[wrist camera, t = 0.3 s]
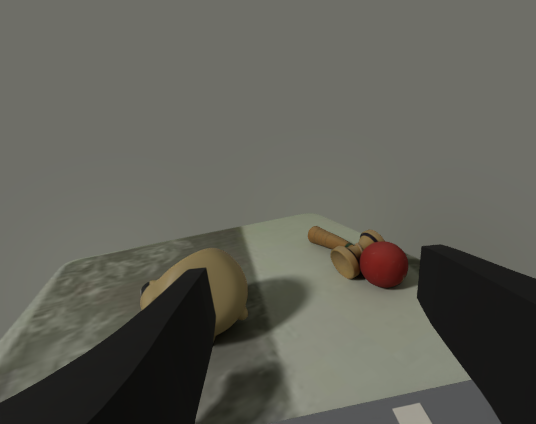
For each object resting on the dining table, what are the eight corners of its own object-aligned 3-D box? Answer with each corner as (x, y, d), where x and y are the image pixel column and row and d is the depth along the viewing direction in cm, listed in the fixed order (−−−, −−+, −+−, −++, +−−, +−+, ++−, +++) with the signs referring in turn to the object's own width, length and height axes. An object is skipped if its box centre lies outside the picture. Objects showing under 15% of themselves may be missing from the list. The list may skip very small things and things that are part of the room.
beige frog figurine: (152, 326, 39) (124, 257, 35) (235, 288, 44) (220, 224, 40) (166, 384, 31) (133, 304, 27) (267, 331, 36) (253, 255, 31)
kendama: (295, 258, 51) (378, 302, 36) (294, 222, 50) (380, 252, 34) (330, 249, 55) (420, 286, 39) (330, 215, 54) (423, 240, 38)
